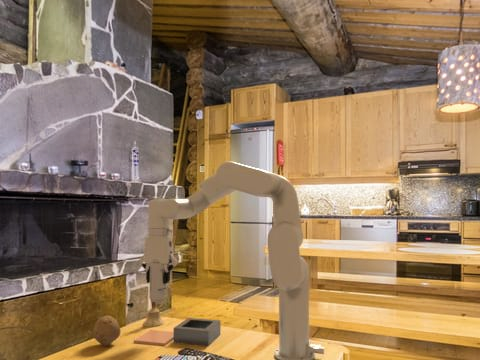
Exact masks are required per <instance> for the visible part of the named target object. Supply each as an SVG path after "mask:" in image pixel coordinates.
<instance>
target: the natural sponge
mask: <svg viewBox="0 0 480 360" xmlns="http://www.w3.org/2000/svg"><path fill="white" fill-rule="evenodd" d="M120 336H121V327H120V324H119V322H118V321H117V319H116V318H115V317H113V316H110V315H104V316H101V317H99V318H98V320H96V322H95V323H94V326H93V328H92V337H93V338H94V340H95V341H97V342H98V343H99V344H100V345H101V346H104V347H108V346H110V345H111V344H113V342H115V341H116V340H117V339H118V338H119V337H120Z"/></svg>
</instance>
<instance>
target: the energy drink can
mask: <svg viewBox="0 0 480 360" xmlns="http://www.w3.org/2000/svg"><path fill="white" fill-rule="evenodd" d="M164 272H165V269H164V266H163V264H161V263H160V262H158V261H157V260H154V259H153V261H152V262H151V263H150V282H149V293H148V294H149V295H148V298H149V299H148V300H150V302H151V303H152V302H156V303H161V302H164V301H165V299H167V283H166V284H164Z"/></svg>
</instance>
